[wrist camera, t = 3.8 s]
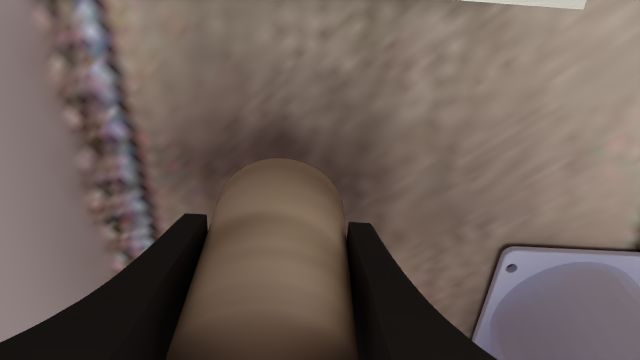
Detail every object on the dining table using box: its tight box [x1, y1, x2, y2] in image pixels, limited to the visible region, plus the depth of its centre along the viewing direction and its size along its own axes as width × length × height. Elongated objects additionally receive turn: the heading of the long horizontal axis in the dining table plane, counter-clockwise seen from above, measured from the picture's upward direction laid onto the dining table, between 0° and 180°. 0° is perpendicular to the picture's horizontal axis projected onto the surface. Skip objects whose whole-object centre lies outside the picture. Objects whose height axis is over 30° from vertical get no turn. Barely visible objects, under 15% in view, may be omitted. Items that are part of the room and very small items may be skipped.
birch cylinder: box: [166, 158, 358, 360], centre depth 12 cm, size 4×4×6 cm
